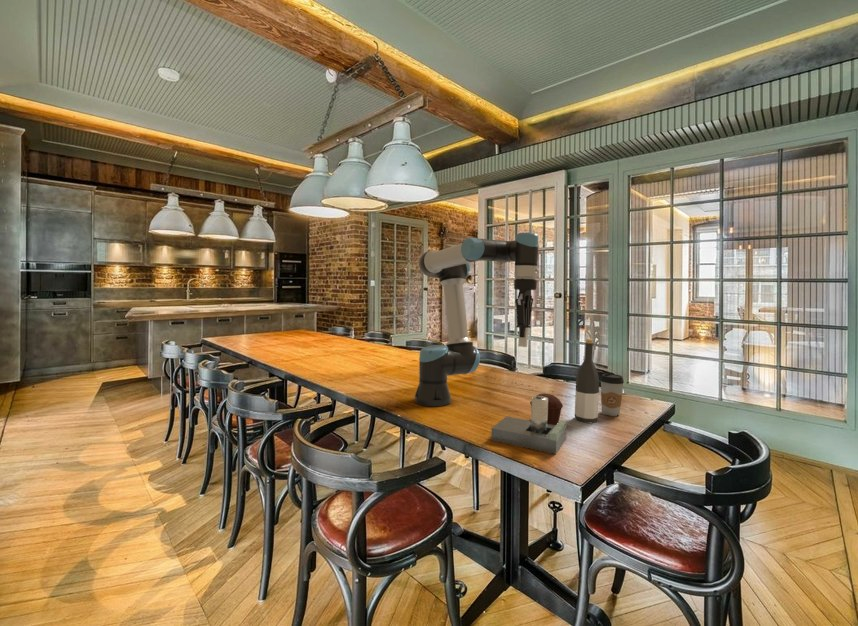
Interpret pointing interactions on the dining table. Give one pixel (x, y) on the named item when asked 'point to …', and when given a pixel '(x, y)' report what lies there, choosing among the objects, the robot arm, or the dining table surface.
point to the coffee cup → (611, 393)
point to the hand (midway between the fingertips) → (522, 346)
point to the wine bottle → (587, 388)
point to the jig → (529, 434)
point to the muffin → (552, 408)
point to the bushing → (539, 414)
